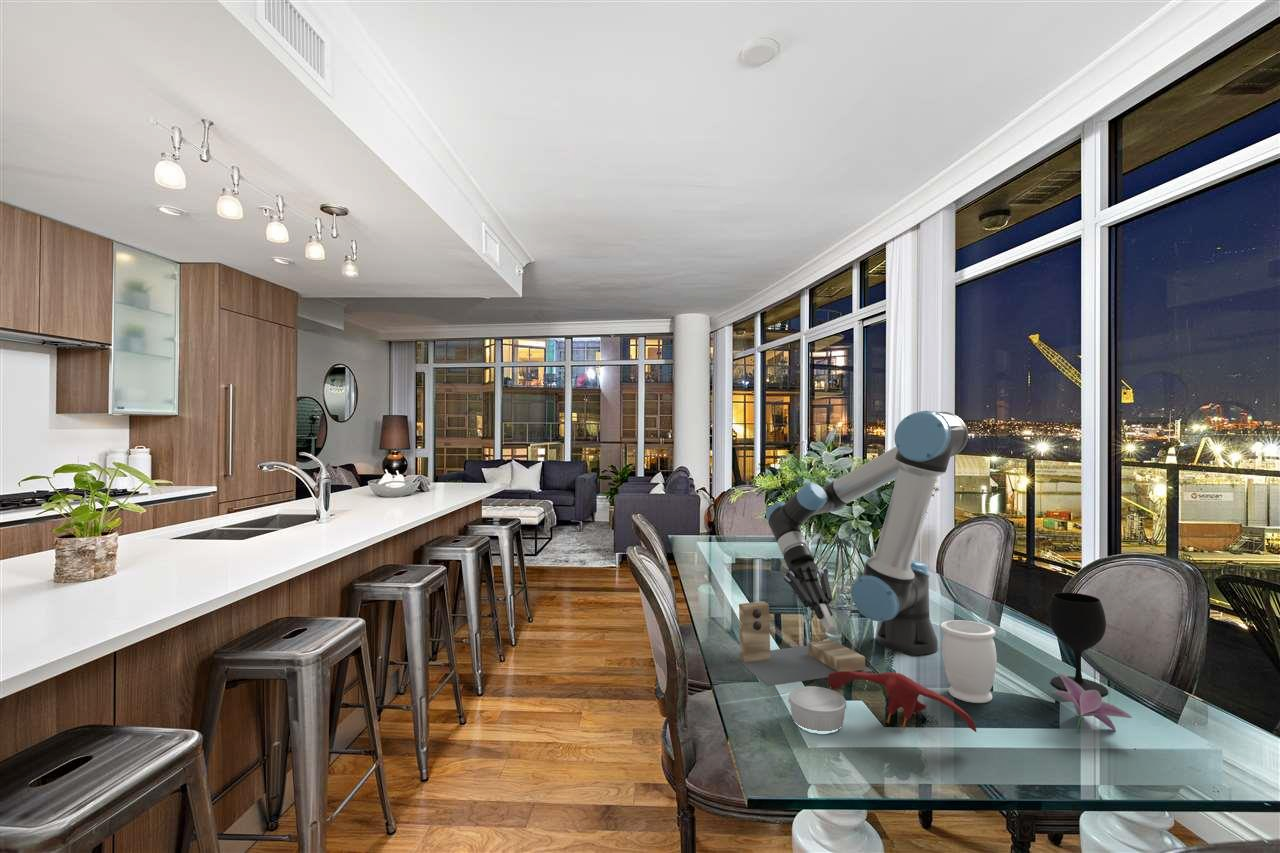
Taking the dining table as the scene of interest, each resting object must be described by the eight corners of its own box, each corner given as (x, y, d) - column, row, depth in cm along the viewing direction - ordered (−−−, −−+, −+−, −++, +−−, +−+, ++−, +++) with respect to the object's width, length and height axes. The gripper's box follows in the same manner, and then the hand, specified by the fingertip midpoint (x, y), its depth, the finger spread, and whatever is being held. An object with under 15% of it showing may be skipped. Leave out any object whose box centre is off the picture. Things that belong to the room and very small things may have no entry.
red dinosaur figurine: (838, 720, 129) (813, 683, 122) (851, 681, 134) (828, 644, 127) (983, 769, 109) (963, 729, 102) (992, 721, 114) (974, 680, 107)
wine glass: (1097, 680, 136) (1094, 593, 136) (1117, 699, 126) (1113, 605, 126) (1044, 675, 139) (1041, 590, 139) (1059, 694, 129) (1056, 602, 130)
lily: (1139, 755, 107) (1145, 700, 110) (1075, 728, 108) (1082, 675, 111) (1088, 743, 118) (1094, 694, 121) (1030, 719, 119) (1038, 671, 122)
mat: (826, 645, 162) (826, 643, 162) (873, 673, 143) (873, 670, 143) (732, 657, 155) (732, 655, 155) (767, 688, 136) (767, 685, 136)
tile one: (808, 642, 154) (839, 660, 141) (832, 639, 156) (864, 656, 143) (808, 655, 154) (840, 674, 141) (832, 652, 156) (865, 670, 142)
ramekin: (839, 743, 111) (838, 715, 111) (781, 729, 117) (780, 702, 117) (852, 718, 120) (851, 692, 121) (798, 707, 126) (797, 682, 126)
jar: (977, 710, 123) (975, 637, 123) (933, 692, 132) (930, 624, 132) (1008, 699, 127) (1006, 629, 128) (963, 682, 137) (961, 616, 137)
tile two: (740, 658, 153) (738, 603, 153) (765, 655, 154) (763, 601, 155) (745, 663, 149) (744, 607, 150) (771, 659, 151) (769, 604, 151)
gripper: (811, 557, 171) (847, 633, 155) (770, 561, 168) (802, 639, 151) (821, 542, 166) (859, 619, 149) (778, 545, 163) (813, 624, 146)
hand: (831, 629), depth 150 cm, fingers closed
